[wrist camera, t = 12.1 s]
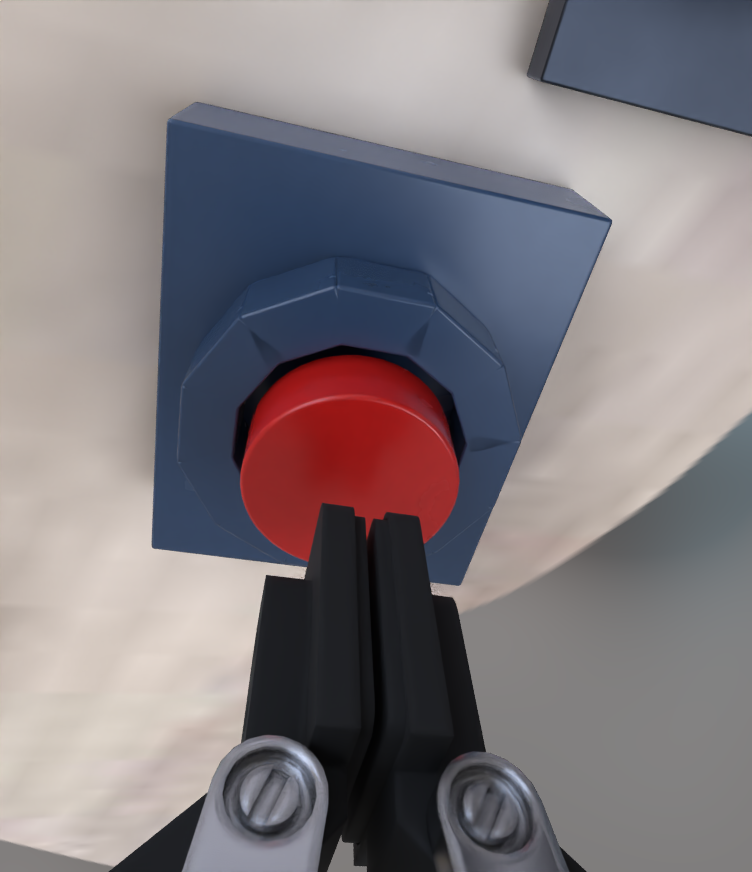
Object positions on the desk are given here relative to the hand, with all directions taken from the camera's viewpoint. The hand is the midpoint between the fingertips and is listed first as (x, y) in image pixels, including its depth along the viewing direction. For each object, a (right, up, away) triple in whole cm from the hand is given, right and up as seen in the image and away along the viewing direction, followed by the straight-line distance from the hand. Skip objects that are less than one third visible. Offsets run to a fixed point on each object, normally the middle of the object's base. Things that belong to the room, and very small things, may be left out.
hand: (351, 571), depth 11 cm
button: (0, +2, +3) cm, 4 cm away
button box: (0, +5, +6) cm, 8 cm away
